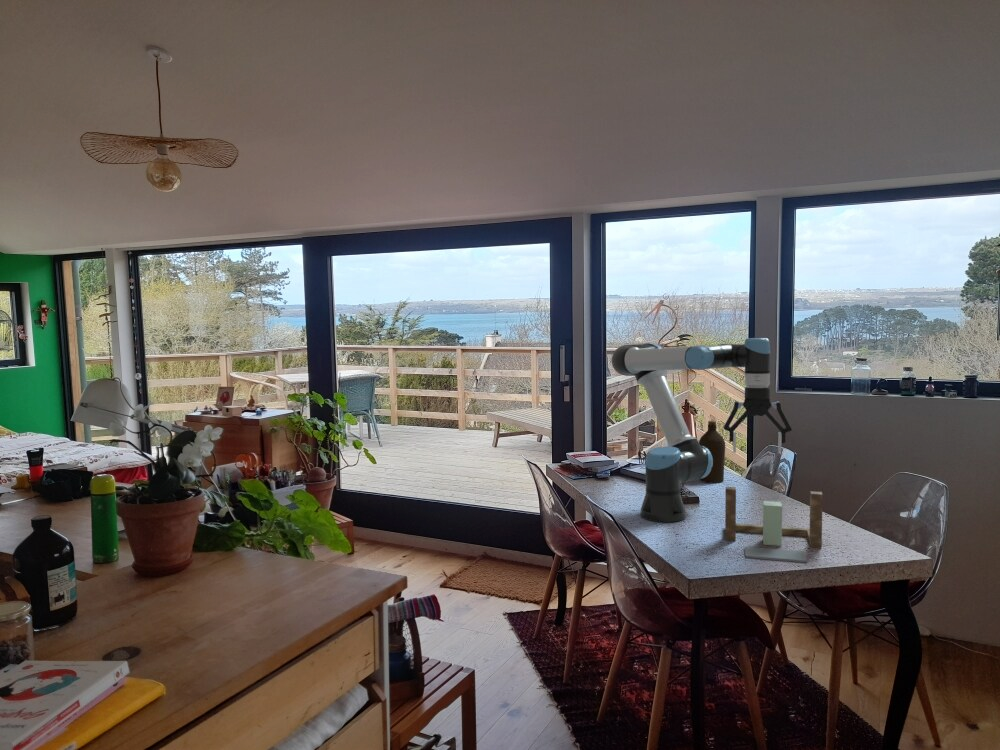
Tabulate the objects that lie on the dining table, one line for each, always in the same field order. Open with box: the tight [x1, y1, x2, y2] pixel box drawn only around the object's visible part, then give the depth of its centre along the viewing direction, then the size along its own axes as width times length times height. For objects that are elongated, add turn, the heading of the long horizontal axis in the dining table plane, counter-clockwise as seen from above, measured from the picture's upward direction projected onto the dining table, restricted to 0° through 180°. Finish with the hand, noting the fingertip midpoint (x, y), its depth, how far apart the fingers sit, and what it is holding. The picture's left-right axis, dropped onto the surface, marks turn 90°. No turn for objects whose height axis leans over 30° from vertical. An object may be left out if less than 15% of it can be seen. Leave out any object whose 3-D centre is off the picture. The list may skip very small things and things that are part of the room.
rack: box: [724, 486, 824, 549], centre depth 211 cm, size 27×12×16 cm, turn 72°
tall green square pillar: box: [762, 500, 783, 547], centre depth 207 cm, size 5×5×12 cm
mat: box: [744, 546, 808, 564], centre depth 196 cm, size 16×8×1 cm, turn 72°
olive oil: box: [698, 420, 726, 483], centre depth 287 cm, size 11×11×25 cm
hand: (756, 452), depth 220 cm, fingers open, 13 cm apart
